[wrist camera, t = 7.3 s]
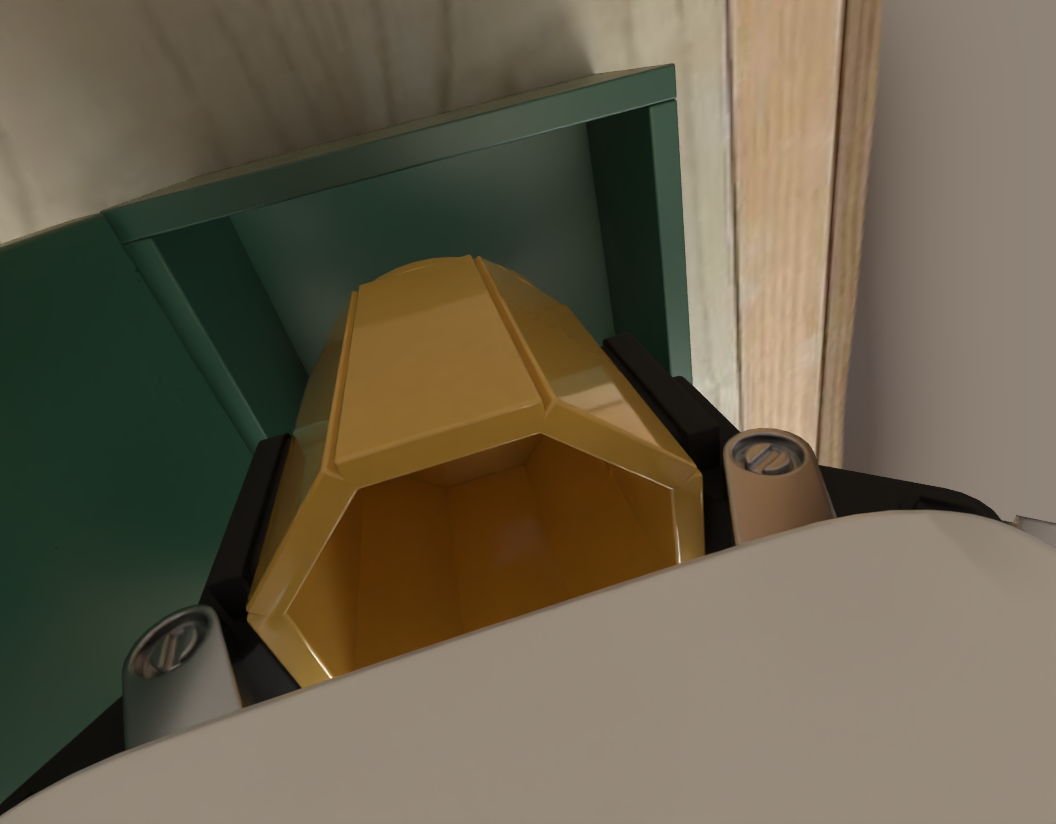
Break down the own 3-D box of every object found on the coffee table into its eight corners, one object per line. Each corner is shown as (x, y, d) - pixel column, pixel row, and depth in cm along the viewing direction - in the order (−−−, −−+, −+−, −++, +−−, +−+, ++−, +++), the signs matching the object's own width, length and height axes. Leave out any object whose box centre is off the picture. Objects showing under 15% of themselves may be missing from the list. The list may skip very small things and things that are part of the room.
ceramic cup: (271, 300, 12) (155, 515, 6) (550, 223, 12) (699, 350, 6) (376, 509, 15) (370, 773, 9) (590, 443, 16) (709, 654, 10)
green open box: (594, 73, 19) (675, 62, 14) (632, 374, 26) (697, 452, 20) (192, 177, 18) (97, 211, 13) (337, 460, 25) (317, 567, 19)
